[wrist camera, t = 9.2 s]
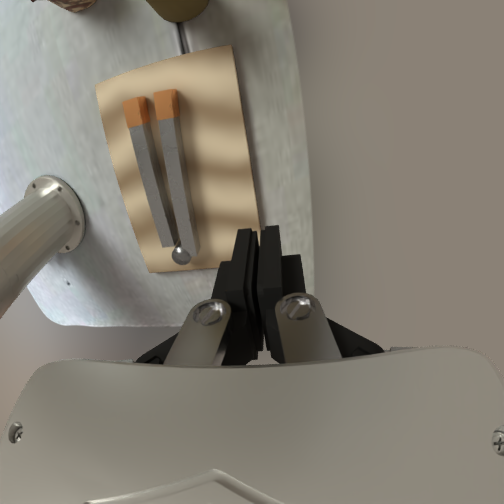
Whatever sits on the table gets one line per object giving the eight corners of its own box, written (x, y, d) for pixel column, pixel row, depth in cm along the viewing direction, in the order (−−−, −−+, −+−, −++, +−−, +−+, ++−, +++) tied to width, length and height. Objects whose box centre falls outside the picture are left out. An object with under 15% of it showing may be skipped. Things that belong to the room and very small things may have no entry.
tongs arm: (203, 255, 36) (199, 265, 34) (178, 256, 36) (173, 265, 34) (176, 88, 25) (170, 89, 23) (147, 94, 25) (139, 95, 24)
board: (264, 258, 37) (264, 263, 36) (152, 267, 39) (149, 272, 38) (232, 46, 24) (230, 44, 23) (100, 84, 26) (94, 84, 25)
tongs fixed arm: (180, 237, 35) (175, 246, 33) (166, 239, 35) (161, 248, 33) (145, 96, 26) (137, 96, 24) (130, 100, 26) (122, 101, 24)
